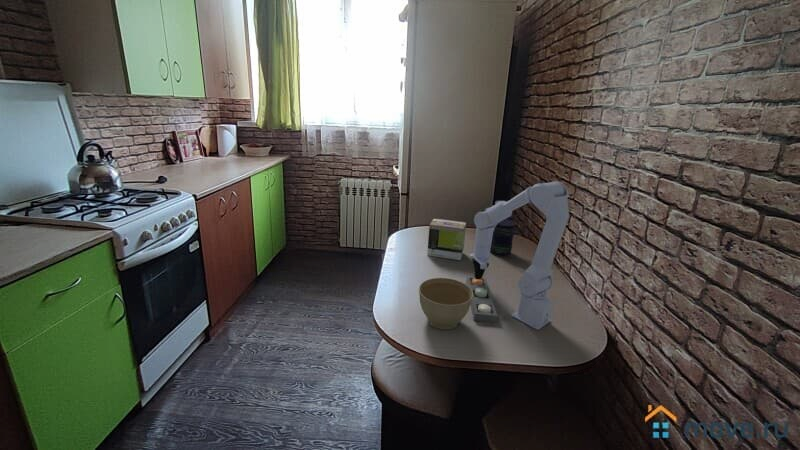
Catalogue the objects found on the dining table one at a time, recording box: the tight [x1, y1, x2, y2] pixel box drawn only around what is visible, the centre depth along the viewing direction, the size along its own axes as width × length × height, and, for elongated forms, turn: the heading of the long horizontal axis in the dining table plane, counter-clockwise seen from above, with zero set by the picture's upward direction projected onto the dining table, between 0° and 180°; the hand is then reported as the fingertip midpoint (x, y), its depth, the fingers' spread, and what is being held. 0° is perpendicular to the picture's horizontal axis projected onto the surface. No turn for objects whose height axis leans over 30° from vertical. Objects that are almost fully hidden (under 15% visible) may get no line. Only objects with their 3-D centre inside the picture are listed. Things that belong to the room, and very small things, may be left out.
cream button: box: [478, 304, 491, 313], centre depth 115 cm, size 4×4×2 cm
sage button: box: [475, 288, 487, 298], centre depth 124 cm, size 4×4×2 cm
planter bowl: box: [418, 277, 473, 330], centre depth 110 cm, size 16×16×11 cm
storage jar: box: [490, 218, 517, 258], centre depth 164 cm, size 10×10×15 cm
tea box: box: [426, 218, 467, 261], centre depth 158 cm, size 15×10×15 cm, turn 74°
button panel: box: [465, 276, 499, 323], centre depth 124 cm, size 25×7×2 cm, turn 176°
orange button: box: [472, 278, 483, 285], centre depth 132 cm, size 4×4×2 cm
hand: (478, 278), depth 132 cm, fingers closed
